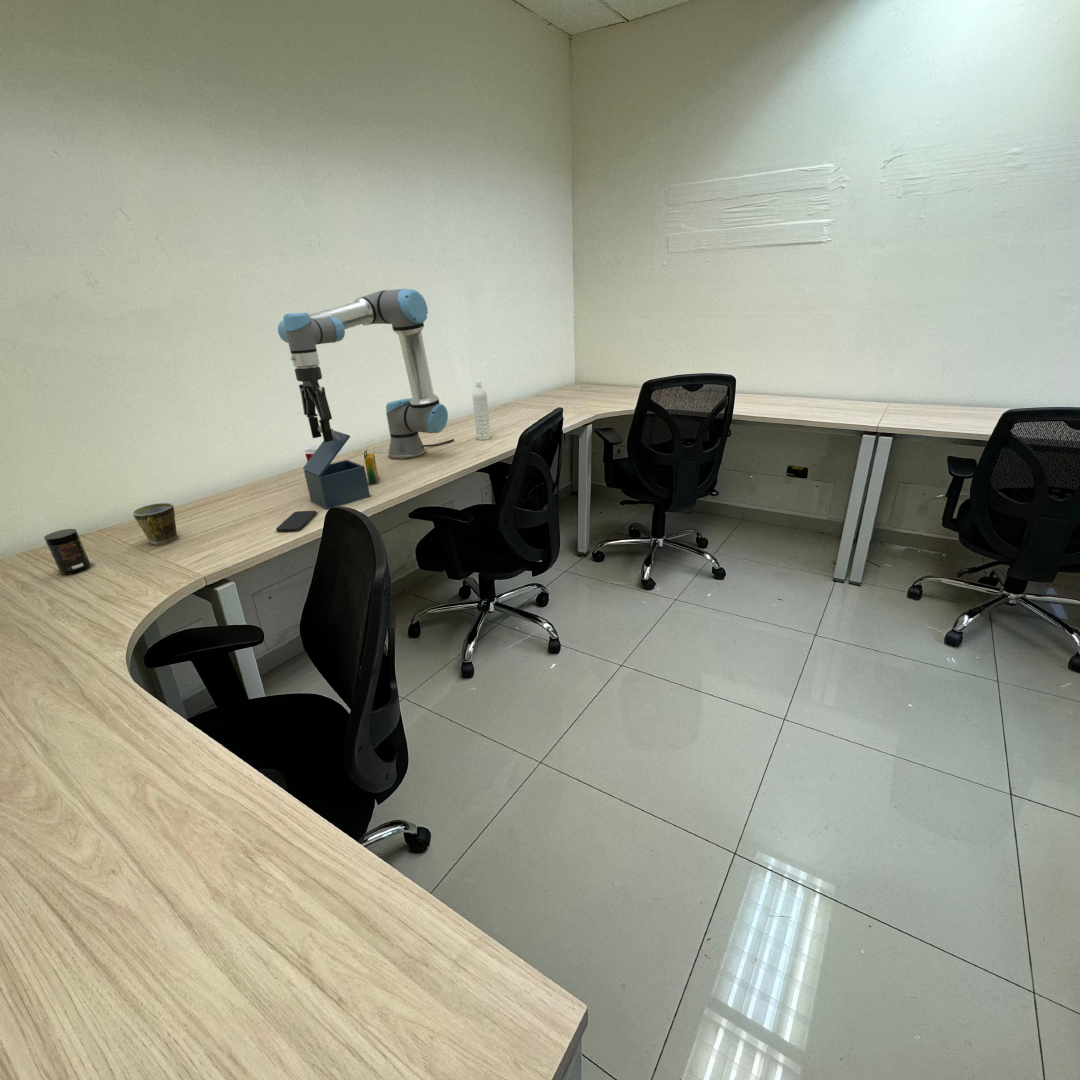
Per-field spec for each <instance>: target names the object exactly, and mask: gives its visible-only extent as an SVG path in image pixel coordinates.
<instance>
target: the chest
mask: <svg viewBox="0 0 1080 1080" xmlns="http://www.w3.org/2000/svg"><path fill="white" fill-rule="evenodd" d="M303 473H304V478H305V482H306V486H307V490H308V494H309V498H310V502H312V503H315V504H316V505H318V506H320V507H322V508H324V509H326V510H329V509H333V508H336V507H339V506H342V505H345V504H349V503H353V502H355V501H356V502H357V501H359V500H362V499H365V498H369V497H371V495H370V494H371V493H370V488H369V482H368V477H367V471H366V466H364V465H363V464H360V463H358V462H355V461H352V460H349V459H345V460H339V461H336V462H331V463H330V465H329V466H328V467H327V469H326V470H325V472H324V473H323V474H322V476H321V477H319V476H317V475H315V474H312V473H310V472H308V471H306V470H304V469H303ZM335 506H336V507H335ZM332 507H333V508H332Z"/></svg>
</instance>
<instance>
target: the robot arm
mask: <svg viewBox="0 0 1080 1080" xmlns="http://www.w3.org/2000/svg"><path fill="white" fill-rule="evenodd" d="M428 314H429V313H428V304H427V302H426V300H425V298H424V296H423V295H422V294H421V293H420V292H419V291H418V290H416V289H413V288H412V289H411V288H397V289H388V290H387V289H383V290H379V291H375V292H373V293H369V294H366V295H364V296H360V297H357V298H355V299H354V300H353V302H351V303H347V304H343V305H339V306H336V307H332V308H329V309H325V310H321V311H317V312H313V313H309V312H293V313H284V314H283V317H282V318H283V319H282V320H281V321H280V322H278V326H277V332H278V333H277V334H278V335H279V338H280V339H281V340H282V341H283V342H284V343H288V348H289V351H290V356H291V357H290V360H291V361H292V364H293V367H295V369H294V374H295V378H296V381H298V382H301V383H302V384H299V385H298V388H299V391H300V396H301V404H302V410H303V414H304V416H306V418H308V419H307V420H308V423H309V428H310V433H311V437H312V439H317V438H321V437H322V438H323V441H324V442H329V441H333V437H332V432H331V429H332V428H331V423H330V421H331V420H332V419H333V417H332V413H331V410H330V409H331V408H330V405H329V402H328V399H327V398H328V397H327V394H326V388H325V386H321V385H320V384H319V380H322V379H323V374H322V370H321V367H320V366H319V365H320V364H321V363H320V357H319V355H318V354H319V353H318V350H317V345H323V344H325V345H326V344H331V343H332V344H333V343H334V344H335V343H337V342H341V341H342V340H343V339H344V338H345V336H346V331H345V330H347V329H351V328H353V327H357V326H360V325H362V326H366V327H367V326H370V325H378V324H379V325H383V324H384V325H391V327H392V331H393V332H394V333H395V334H396V335H398V339H399V343H400V347H401V353H402V357H403V361H404V366H405V371H406V374H407V380H408V384H409V389H410V393H411V397H408V398H407V397H406V398H402V399H397V400H392V401H390V402H387V403H386V405H385V411H386V419H387V424H388V430H389V435H390V436H389V437H390V442H389V446H388V447H389V448H388V456H389V458H390V459H393V460H408V459H415V458H419V457H422V456H423V455H425V454H426V448H431V447H437V446H442V445H445V444H449V443H451V442H455V439H454V438H452V439H449V440H446V441H442V442H439V443H435V444H424V443H423V442H422V440H421V437H420V435H419V433H424V434H425V433H426V434H438V433H441V432H442V431H444V429H445V428H446V426H447V424H448V418H449V413H448V408H447V407H446V406H445V405H444V404H442V403H441V402H440V398H439V396H438V395H436V394H435V393H434V388H433V383H432V379H431V373H430V369H429V363H428V358H427V354H426V349H425V348H426V347H425V343H424V339H423V338H424V337H423V333H422V331H423V330H424V327H425V322H426V320H427V318H428V316H427V315H428ZM316 411H317V412H316ZM318 418H319V419H318ZM318 426H321V430H322V433H321V432H319V431H318Z"/></svg>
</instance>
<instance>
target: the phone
mask: <svg viewBox="0 0 1080 1080" xmlns="http://www.w3.org/2000/svg"><path fill="white" fill-rule="evenodd" d="M316 515H317V511H316V510H298V511H294V512H292V513H291V514H290V515H289V516H288V517H287V518H286V519H285V520H284V521H282V522H281V523H280V525H278V526H277V527H276V528H275V529H276V530H275V531H276V532H295V531H297V532H298V531H300V530H302V528H304V527H305V526H306V524H308V523H309V522H310V521H311V520H312V518H314V517H315V516H316Z"/></svg>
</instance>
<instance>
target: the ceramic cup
mask: <svg viewBox="0 0 1080 1080" xmlns="http://www.w3.org/2000/svg"><path fill="white" fill-rule="evenodd" d="M132 515H133V518H134V519H135V521H136V522H137V525H139V527H140V528H141V530H142V532H143V533H144V535H145V536H146V539H148V541H149V542H150V544H152V545H155V546H161V545H165V544H166V545H167V544H169V543H171V542H173V541H175V540H177V537H178V530H177V524H176V523H177V522H176V513H175V507H174V503H171V502H157V503H151V504H147V505H145V506H142V507H139V508H136V509H135V510H133V512H132Z"/></svg>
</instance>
